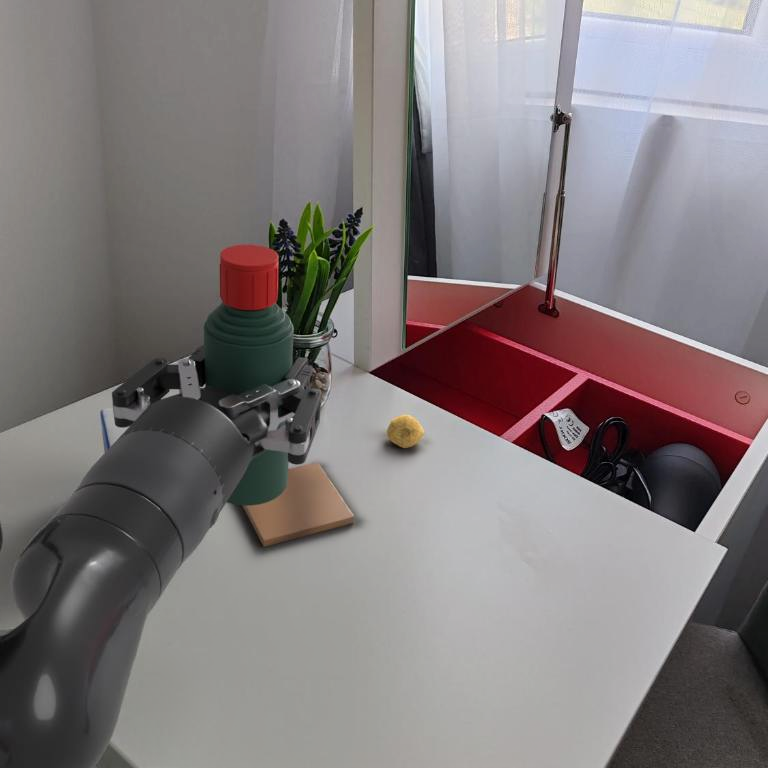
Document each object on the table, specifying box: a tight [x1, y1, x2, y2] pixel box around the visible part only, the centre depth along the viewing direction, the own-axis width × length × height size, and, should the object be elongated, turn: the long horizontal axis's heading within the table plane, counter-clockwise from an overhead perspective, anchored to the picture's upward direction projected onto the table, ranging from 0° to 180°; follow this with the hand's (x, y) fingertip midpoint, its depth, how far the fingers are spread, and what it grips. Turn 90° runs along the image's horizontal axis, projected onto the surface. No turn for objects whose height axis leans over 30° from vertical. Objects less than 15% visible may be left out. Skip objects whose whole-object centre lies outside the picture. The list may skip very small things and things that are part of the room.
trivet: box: [242, 462, 355, 548], centre depth 76 cm, size 9×9×1 cm
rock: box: [386, 414, 425, 449], centre depth 86 cm, size 4×4×3 cm
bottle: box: [203, 301, 294, 507], centre depth 59 cm, size 6×6×19 cm
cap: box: [219, 244, 280, 310], centre depth 55 cm, size 4×4×3 cm
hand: (259, 360), depth 61 cm, fingers closed on bottle, 6 cm apart
